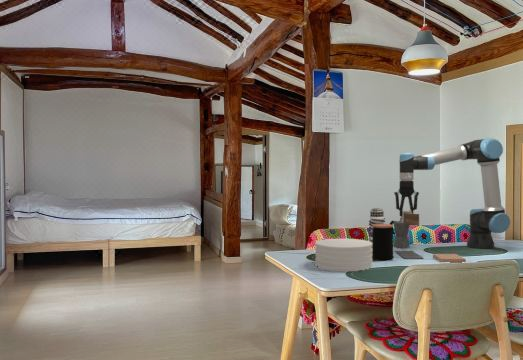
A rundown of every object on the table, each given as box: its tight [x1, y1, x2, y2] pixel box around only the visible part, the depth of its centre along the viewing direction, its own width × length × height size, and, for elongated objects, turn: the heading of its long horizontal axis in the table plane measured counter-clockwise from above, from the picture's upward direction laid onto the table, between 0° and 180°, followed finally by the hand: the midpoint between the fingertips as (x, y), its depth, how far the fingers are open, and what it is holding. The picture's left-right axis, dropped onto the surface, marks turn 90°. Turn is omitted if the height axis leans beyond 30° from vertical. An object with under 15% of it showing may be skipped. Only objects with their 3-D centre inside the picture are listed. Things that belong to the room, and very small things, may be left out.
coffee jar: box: [372, 223, 394, 261], centre depth 249 cm, size 11×11×18 cm
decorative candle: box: [368, 207, 386, 251], centre depth 269 cm, size 9×9×25 cm
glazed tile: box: [432, 253, 467, 264], centre depth 242 cm, size 12×3×14 cm
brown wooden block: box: [402, 210, 420, 226], centre depth 258 cm, size 18×7×6 cm, turn 177°
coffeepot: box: [389, 217, 411, 249], centre depth 285 cm, size 15×9×18 cm, turn 33°
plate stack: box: [314, 238, 373, 272], centre depth 233 cm, size 28×28×12 cm
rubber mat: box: [394, 250, 424, 260], centre depth 258 cm, size 10×22×1 cm, turn 177°
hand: (406, 222), depth 262 cm, fingers closed on brown wooden block, 3 cm apart
